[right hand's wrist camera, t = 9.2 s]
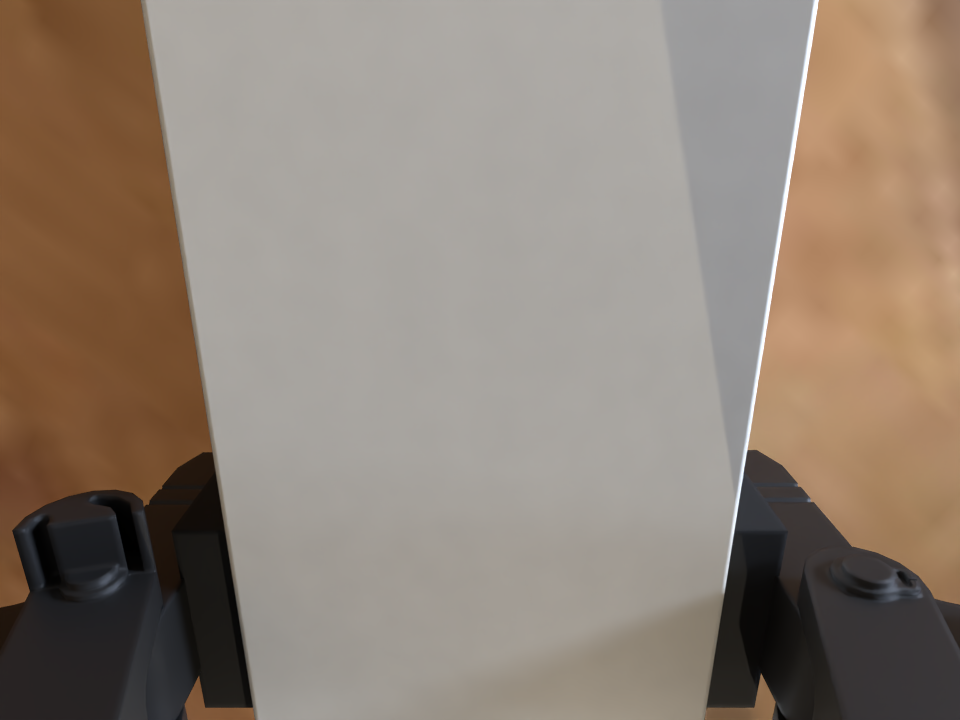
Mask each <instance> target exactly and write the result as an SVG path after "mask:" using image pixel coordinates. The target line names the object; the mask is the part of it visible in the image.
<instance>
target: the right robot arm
mask: <svg viewBox="0 0 960 720" xmlns="http://www.w3.org/2000/svg"><path fill="white" fill-rule="evenodd" d="M810 499H811V498H810V497H809V496H808V495H807V494H806V493H805V491H804V490H803V489H802V488H801V487H798V483H797V482H796V481H795V480H794V479H793V477H792V476H791V475H790V474H789V473H788V472H787V470H786V469H785V468H784V467H783V466H782V465H781V464H779V463H777V462H776V461H774V460H772V459H771V458H769V457H767V456H766V455H764V454H762V453H761V452H759V451H757V450H747V454H746V461H745V467H744V473H743V479H742V486H741V492H740V498H739V505H738V511H737V517H736V524H735V530H734V536H733V543H732V549H731V555H730V561H729V568H728V574H727V580H726V587H725V593H724V599H723V606H722V612H721V618H720V625H719V631H718V637H717V643H716V650H715V656H714V662H713V669H712V675H711V681H710V688H709V694H708V700H707V707H706V708H754V706H755V701H756V696H757V691H758V685H759V680H760V675H761V673H762V675H763V677H764V679H765V681H766V683H767V685H768V687H769V689H770V691H771V693H772V695H773V697H774V699H775V701H776V704H775V709H774V714H773V719H772V720H960V605H958V604H954V603H949V602H944V601H940V600H937V599H934V598H933V596H932V594H931V592H930V590H929V589H928V588H927V586H926V585H925V584H924V583H923V581H922V580H921V579H920V578H919V576H917V575H916V574H914V573H913V572H912V571H910V570H909V569H907V568H906V567H905V566H903V565H902V564H900V563H898V562H896V561H894V560H892V559H890V558H887V557H885V556H883V555H881V554H878V553H876V552H872V551H868V550H864V549H860V548H856V547H852V546H851V545H850V544H849V543H848V542H847V540H846V539H845V538H844V537H843V536H842V535H841V533H840V532H839V531H838V530H837V529H836V528H835V526H834V525H833V524H832V523H831V522H830V521H829V519H828V518H827V517H826V516H825V515H824V514H823V512H822V511H821V510H820V509H819V508H818V507H817V505H816V504H815V503H814V502H811V501H810ZM12 531H13V535H14V538H15V542H16V545H17V548H18V552H19V555H20V559H21V562H22V566H23V569H24V572H25V576H26V579H27V583H28V586H29V590H30V593H29V595H28V597H27V599H26V601H25V602H23V603H20V604H16V605H12V606H7V607H2V608H0V720H188V719H187V714H186V709H185V702H186V700H187V698H188V696H189V694H190V692H191V690H192V688H193V686H194V684H195V682H196V680H197V678H198V676H199V677H200V682H201V688H202V693H203V698H204V703H205V708H253V703H252V697H251V691H250V685H249V678H248V672H247V666H246V659H245V653H244V647H243V641H242V634H241V628H240V622H239V615H238V609H237V603H236V596H235V590H234V584H233V578H232V571H231V565H230V559H229V552H228V546H227V540H226V534H225V527H224V521H223V515H222V508H221V502H220V496H219V490H218V483H217V477H216V471H215V464H214V458H213V452H203V453H201V454H200V455H198V456H196V457H195V458H193V459H191V460H190V461H188V462H186V463H185V464H183V465H182V466H180V467H178V468H177V469H176V470H175V472H174V473H173V474H172V475H171V476H170V477H169V479H168V480H167V481H166V482H165V483H164V484H163V486H162V489H159V490H158V492H157V493H156V494H155V495H154V496H153V497H152V499H151V500H150V503H149V505H146V506H145V507H144V506H143V501H142V500H141V499H140V498H138V497H137V496H136V495H134V494H133V493H129V492H124V491H119V490H100V491H90V492H86V493H81V494H77V495H72V496H68V497H66V498H63V499H60V500H58V501H55V502H53V503H50V504H47V505H45V506H43V507H42V508H40V509H38V510H37V511H35V512H33V513H32V514H30V515H28V516H27V517H25V518H24V519H23V520H22V521H21V522H20V523H19V524H18V525H17V526H16V527H15V528H14V529H13V530H12Z"/></svg>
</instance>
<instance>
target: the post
mask: <svg viewBox="0 0 960 720" xmlns="http://www.w3.org/2000/svg"><path fill="white" fill-rule="evenodd" d="M141 5H142V11H143V18H144V24H145V30H146V37H147V43H148V49H149V56H150V62H151V68H152V74H153V81H154V87H155V93H156V100H157V106H158V112H159V118H160V125H161V131H162V137H163V144H164V150H165V156H166V162H167V169H168V175H169V181H170V188H171V194H172V200H173V206H174V213H175V219H176V225H177V232H178V238H179V244H180V251H181V257H182V263H183V269H184V276H185V282H186V288H187V295H188V301H189V307H190V313H191V320H192V326H193V332H194V339H195V345H196V351H197V357H198V364H199V370H200V376H201V383H202V389H203V395H204V401H205V408H206V414H207V420H208V427H209V433H210V439H211V446H212V452H213V458H214V464H215V471H216V477H217V483H218V490H219V496H220V502H221V508H222V515H223V521H224V527H225V534H226V540H227V546H228V552H229V559H230V565H231V571H232V578H233V584H234V590H235V596H236V603H237V609H238V615H239V622H240V628H241V634H242V641H243V647H244V653H245V659H246V666H247V672H248V678H249V685H250V691H251V697H252V703H253V710H254V716H255V720H704V719H705V713H706V707H707V700H708V694H709V688H710V681H711V675H712V669H713V662H714V656H715V650H716V643H717V637H718V631H719V625H720V618H721V612H722V606H723V599H724V593H725V587H726V580H727V574H728V568H729V561H730V555H731V549H732V543H733V536H734V530H735V524H736V517H737V511H738V505H739V498H740V492H741V486H742V479H743V473H744V467H745V461H746V454H747V448H748V442H749V435H750V429H751V423H752V416H753V410H754V404H755V397H756V391H757V385H758V379H759V372H760V366H761V360H762V353H763V347H764V341H765V334H766V328H767V322H768V315H769V309H770V303H771V297H772V290H773V284H774V278H775V271H776V265H777V259H778V252H779V246H780V240H781V233H782V227H783V221H784V215H785V208H786V202H787V196H788V189H789V183H790V177H791V170H792V164H793V158H794V151H795V145H796V139H797V133H798V126H799V120H800V114H801V107H802V101H803V95H804V88H805V82H806V76H807V69H808V63H809V57H810V51H811V44H812V38H813V32H814V25H815V19H816V13H817V6H818V0H141Z"/></svg>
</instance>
